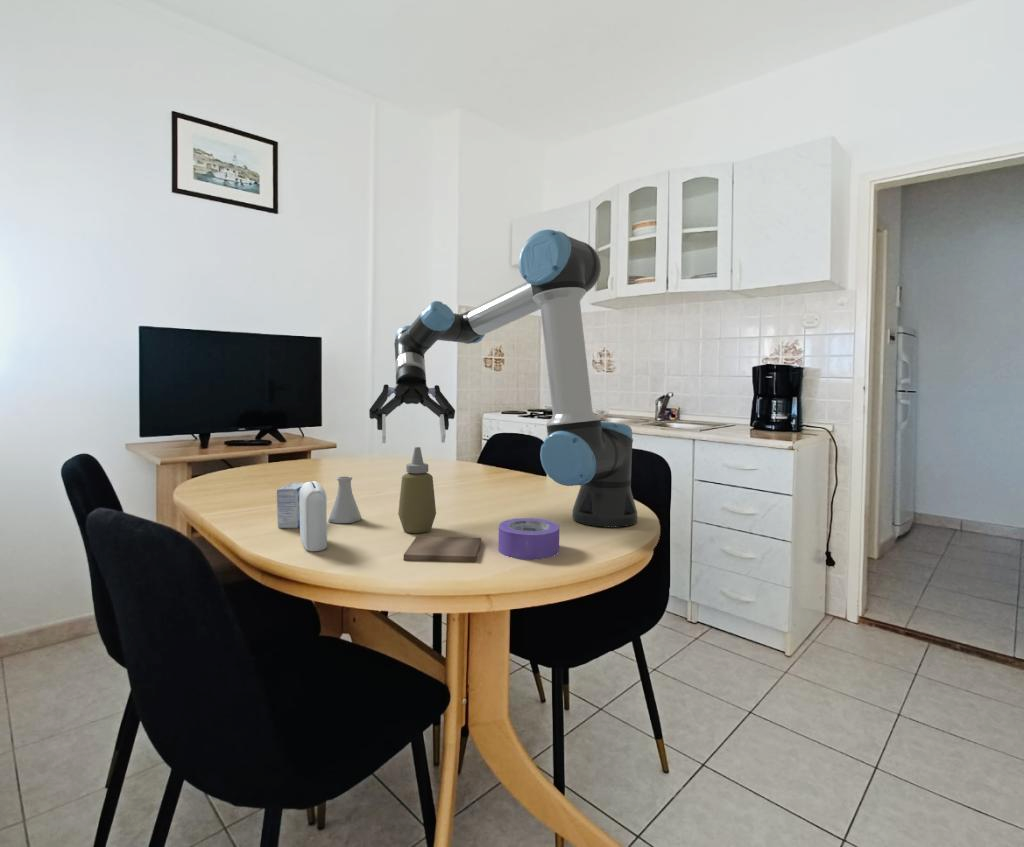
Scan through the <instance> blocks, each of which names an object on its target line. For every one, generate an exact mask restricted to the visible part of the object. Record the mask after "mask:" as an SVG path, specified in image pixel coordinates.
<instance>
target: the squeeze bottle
mask: <svg viewBox="0 0 1024 847" xmlns="http://www.w3.org/2000/svg"><path fill="white" fill-rule="evenodd" d="M405 466H406V467H405V468H406V473H405V474H403V475H402V476H401V485H400V492H399V493H400V494H399V501H398V502H399V505H398V513H397V515H398V517H399V520H400V523H401V526H402V530H403V531H404V532H405V533H410V534H421V533H428V532H429V531H432V527H433V525H434V521H435V519H436V514H437V509H436V507H437V506H436V498H435V487H434V477H433V476H432V474H431V473H429V464H428V463H425V462H424V460H423V454H422V448H421V447H420V446H415V447H414V449H413V454H412V459H411V462H410V463H407V464H406V465H405Z"/></svg>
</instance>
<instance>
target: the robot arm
mask: <svg viewBox="0 0 1024 847" xmlns="http://www.w3.org/2000/svg"><path fill="white" fill-rule="evenodd" d="M518 256H519V257H518V269H519V273H520V275H521V277H522V279H523V280H524V281H525V282H523V283H521V284H519V285H518V286H515V287H514V288H511V289H510V290H508V291H505V292H504V293H501V294H499V295H497V296H496V297H493V298H491V299H490V300H489V299H488V301H485V302H483V303H481V304H480V305H477V306H476V307H474V308H471V309H470V310H467V311H465V312H463V313H461V314H459V313H454V312H453V310H452V309H451V308H450V306H449V305H447V304H445V303H443V302H442V301H438V300H434V301H432V302H430V304H429V305H428V306H426V308H424V309H423V310H422V312H421V313H420V314H419V315H418V316H417V318H415V320H414V321H413V322H412V323H411V325H404V326H403V327H399V329H397V331H396V333H395V336H394V337H395V338H394V341H393V342H394V344H393V345H394V357H395V387H394V386H393V387H391V386H389V384H387V383H386V384H383V387H382V391H381V392H380V394H379V395H378V396H377V399H376V400H375V401H374V402H373V404H372V405H371V407H370V408H369V409H368V411H369V412H368V414H369V419H370V420H373V419H375V420H376V428H377V431H381V432H382V434H381V435H382V436H381V437H382V438H381V440H382V441H381V443H382V444H386V442H387V440H386V439H387V433H386V432H387V431H386V430H387V427H386V426H387V424H386V419H387V416H388V415H390V414H391V413H393V411H394V410H396V409H397V408H398V407H401V406H402V405H403V404H405V405H411V404H413V405H419V404H420V405H422V406H423V407H426V408H427V409H429V410H430V411H431V412H432V413H433V414H434V415H436V416H437V417H438V418H439V429H440V431H439V432H440V440H441V444H442V443H443V444H444V443H445V442H446V431H449V427H450V419H451V420H453V419H454V418H455V416H456V415H455V414H456V410H455V408H454V407H453V406H452V404H451V403H450V402H449V401H448V399H447V398H446V397H445V395H444V394H443V393H442V392H441V387H440V385H437V384H436V385H434V387H429V386H428V385H427V375H426V363H425V354H426V352H427V351H429V349H431V348H432V347H433V345H435V344H436V342H437V341H444V342H455V343H463V344H466V345H467V344H470V345H471V344H477V343H480V342H481V341H482V340H483V339H484V337H485V335H486V334H488V333H491V332H493V331H495V330H497V329H500V328H501V327H504V326H506V325H509V324H510V323H512V322H515V321H517V320H520V319H522V318H524V317H525V316H528V315H530V314H533V313H535V312H537V311H539V310H540V313H541V314H540V315H541V324H542V325H541V326H542V331H543V332H542V333H543V334H542V335H543V340H544V350H545V358H546V359H545V360H546V368H547V377H548V383H549V384H548V385H549V394H550V395H549V396H550V402H551V403H550V404H551V411H552V416H551V418H550V420H548V422H547V423H546V432H547V437H545V439H544V441H543V443H541V447H540V452H539V454H540V455H539V456H540V462H541V466H542V468H543V470H544V472H545V474H547V476H548V477H549V478H550V479H552V480H553V481H554V482H555V483H557V484H559V485H562V486H566V487H573V486H575V487H576V486H580V487H579V490H578V493H577V495H576V498H575V501H574V504H573V506H572V507H573V508H572V517H573V518H572V519H574V520H573V521H575V522H576V521H577V523H579V522H580V523H579V524H582V523H583V525H585V524H587V525H586V526H590V525H593V526H592V527H597V526H604V527H603V528H616V527H615V526H626V525H631V524H634V523H636V522H637V523H638V510H637V506H636V503H635V500H634V496H633V492H632V488H631V485H632V460H633V459H632V458H633V443H634V439H633V429H632V427H631V426H630V425H628V424H625V423H619V422H615V423H614V422H605V421H602V418H601V417H599V416H598V415H597V414H596V413H595V412H594V411H593V403H592V396H591V394H592V393H591V387H590V377H589V369H588V362H587V361H588V360H587V351H586V350H587V349H586V345H585V344H586V343H585V335H584V334H585V333H584V326H583V315H582V306H581V300H582V299H583V298H584V297H585V295H586V293H588V292H589V291H590V290H592V289H593V288H594V287H595V286H596V284H597V282H598V280H599V277H601V276H600V275H601V270H602V269H601V267H602V266H601V259H600V256H599V254H598V252H597V251H596V250H595V249H594V247H593V246H592V245H590V244H588V243H586V242H585V241H583V240H582V241H581V240H578V239H576V238H574V237H571V236H569V235H567V234H566V233H565V232H562V231H560V230H554V229H543V230H540V231H537V232H535V233H534V234H532V235H531V236H530V237H529V238H528V239H526V242H525V244H524V245H523V246H522V248H521V250H520V253H519V255H518ZM392 394H393V395H394V397H393V398H391V399H390V400H389V401H388V402H387V403H386V401H387V400H388V399H389V398H390V397H391V396H392ZM430 395H431V397H432V398H434V399H435V400H434V399H432V398H431V397H430ZM385 403H386V404H385ZM637 523H636V524H637ZM634 525H635V524H634ZM605 526H607V527H605ZM608 526H609V527H608ZM611 526H612V527H611ZM613 526H614V527H613ZM631 526H632V525H631ZM626 527H627V526H626Z"/></svg>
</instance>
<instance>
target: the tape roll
mask: <svg viewBox="0 0 1024 847" xmlns="http://www.w3.org/2000/svg"><path fill="white" fill-rule="evenodd" d="M497 544H498V546H497V547H498V552H499V553H500V554H501V555H503V556H505V557H507V556H508V557H507V558H511V557H512V559H516V560H517V559H518V560H525V559H527V560H528V561H530V560H531V561H534V559H537V560H544V559H543V558H546V559H549V557H550V558H553V557H555V556H557V555H558V554H559V553H560V525H559V524H558V523H557V522H555V521H552V520H548V519H543V518H537V517H533V518H532V517H519V518H511V519H505V520H503V521H501V522H500V523H499V524H498V543H497ZM558 552H559V553H558ZM557 553H558V554H557ZM556 554H557V555H556ZM554 555H555V556H554ZM552 556H553V557H552Z"/></svg>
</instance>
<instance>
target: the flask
mask: <svg viewBox="0 0 1024 847" xmlns="http://www.w3.org/2000/svg"><path fill="white" fill-rule="evenodd" d="M336 479H337V481H338V487H337V488H338V490H337V494H336V498H335V501H334V504H333V507H332V509H331V512H330V515H329V518H328V519H327V523H334V524H352V523H356V522H359V521H360V520H361V519H362V515H361V512H360V510H359V507H358V505H357V502H356V500H355V497H354V493H353V490H352V480H353V476H348V475H347V476H345V475H344V476H343V475H342V476H338V477H336Z"/></svg>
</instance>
